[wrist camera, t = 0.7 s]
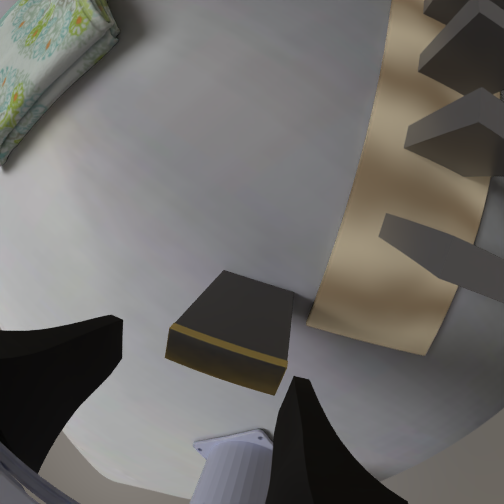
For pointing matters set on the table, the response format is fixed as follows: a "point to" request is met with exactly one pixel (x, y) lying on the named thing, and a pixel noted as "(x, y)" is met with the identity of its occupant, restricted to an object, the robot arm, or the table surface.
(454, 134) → the tile
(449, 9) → the tile
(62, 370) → the robot arm
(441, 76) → the tile
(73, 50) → the towel
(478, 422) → the table surface
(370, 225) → the birch board
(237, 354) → the tile
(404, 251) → the tile
